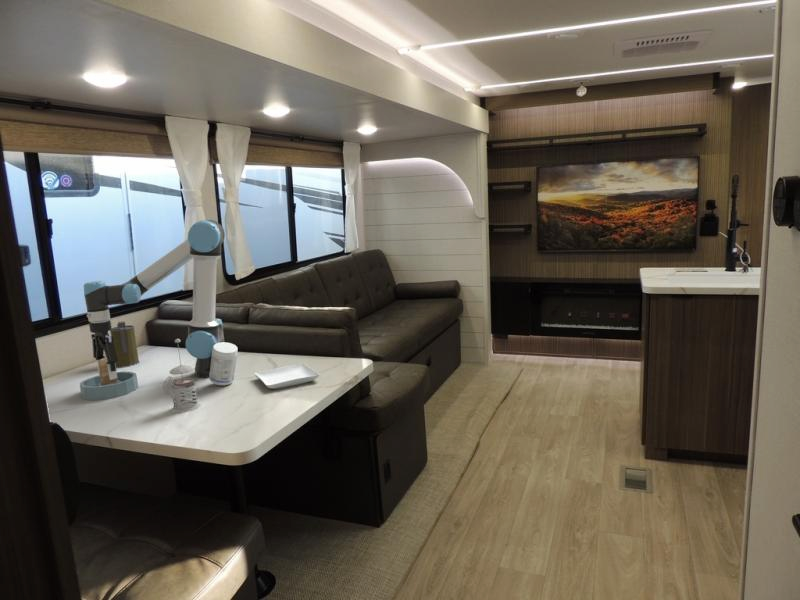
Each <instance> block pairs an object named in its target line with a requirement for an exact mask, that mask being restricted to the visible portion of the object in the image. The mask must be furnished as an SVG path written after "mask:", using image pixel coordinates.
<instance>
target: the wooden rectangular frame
mask: <svg viewBox="0 0 800 600" xmlns="http://www.w3.org/2000/svg"><path fill="white" fill-rule="evenodd" d="M107 362H108V360H107V358H103V360H99V361H98V363H99V370H100V377H101V384H102V385H103V386H104V385H107V384H111V383H115V382H117V378H116V379H112V380H110V379H109V372H108V366H107V364H106V363H107Z"/></svg>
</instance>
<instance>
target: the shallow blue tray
mask: <svg viewBox="0 0 800 600" xmlns="http://www.w3.org/2000/svg"><path fill="white" fill-rule="evenodd" d="M138 388H139V382H138V377H137V374H136V372H133V371H117V382H115V383H111V384H107V385H104V386H103V385H102V384H101V377H100V376H99V374H98V375H94V376H91V377H88V378H86V379H84V380H82V381H80V382H79V389H80V394H81V399H83V398H84V399H83V400H87V401H100V400H101V401H102V400H108V399H115V398H118V397H121V396H122V397H123V396H126V395H129V394H130V393H133V392H134V391H136V390H137V389H138Z"/></svg>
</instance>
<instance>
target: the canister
mask: <svg viewBox="0 0 800 600" xmlns="http://www.w3.org/2000/svg"><path fill="white" fill-rule="evenodd" d="M109 332H110V337H111V336H113V341H114V346H115V350H116V355H117V359H118V361H116V362H115V365H116V366H117V367H116V368H123V367H122V366H127V367H131V366H130V365H133V366H135V365H134V364H136V365H138V364H139V363H140V360H139V353H138V345H137V340H136V339H137V338H136V332H135V325H127V324H126V321H118V322H117V325H116V326H115V327H112V329H111V330H109ZM137 363H138V364H137Z"/></svg>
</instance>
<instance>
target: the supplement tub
mask: <svg viewBox="0 0 800 600" xmlns="http://www.w3.org/2000/svg"><path fill="white" fill-rule="evenodd" d="M238 353H239V352H238V346H237V345H236V344H234V343H232V342H225V341H224V342H220V343H216V344H215V345H214V346H213V350H212V357H211V366H210V374H209V377H208V379H209V381H210V382H211V383H212V384H214V385H217V386H228V385H230V384H232V383H233V382H234V380H235V372H236V365H237V359H238Z"/></svg>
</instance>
